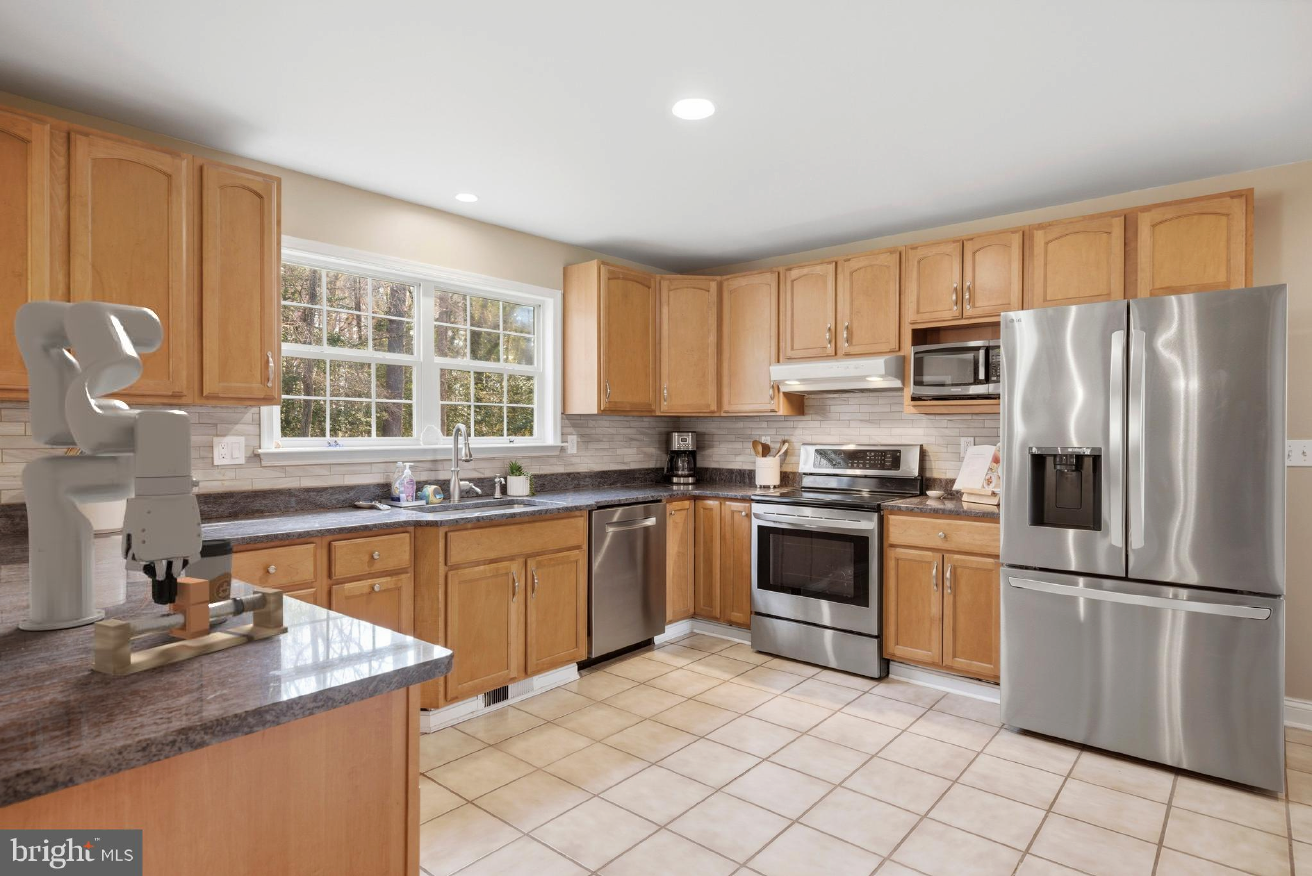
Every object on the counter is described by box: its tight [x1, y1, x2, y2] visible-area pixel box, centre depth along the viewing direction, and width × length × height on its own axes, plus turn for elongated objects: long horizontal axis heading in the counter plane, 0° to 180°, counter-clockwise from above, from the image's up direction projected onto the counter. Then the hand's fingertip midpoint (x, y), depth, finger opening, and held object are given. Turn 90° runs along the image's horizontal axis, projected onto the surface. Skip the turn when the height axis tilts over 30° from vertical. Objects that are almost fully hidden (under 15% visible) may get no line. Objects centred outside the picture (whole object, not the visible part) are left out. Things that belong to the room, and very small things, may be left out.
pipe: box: [125, 593, 267, 640], centre depth 121 cm, size 25×3×3 cm, turn 152°
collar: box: [168, 577, 211, 640], centre depth 120 cm, size 3×6×9 cm, turn 62°
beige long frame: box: [90, 587, 289, 677], centre depth 121 cm, size 27×8×7 cm, turn 152°
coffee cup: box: [183, 538, 235, 626], centre depth 138 cm, size 8×8×15 cm
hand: (164, 603), depth 116 cm, fingers closed
